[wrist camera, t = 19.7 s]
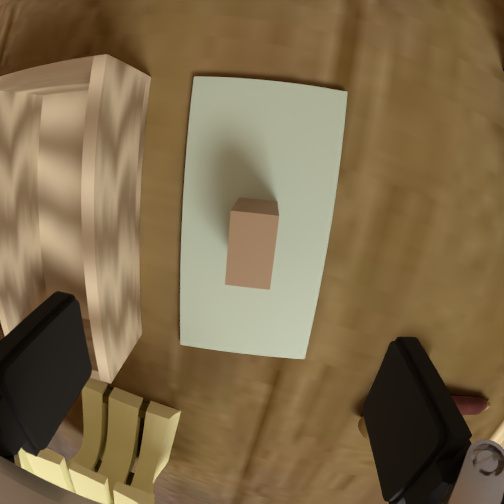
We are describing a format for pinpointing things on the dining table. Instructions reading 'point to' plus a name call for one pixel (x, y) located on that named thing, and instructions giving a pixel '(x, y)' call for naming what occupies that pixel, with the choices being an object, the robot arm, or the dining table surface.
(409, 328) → the dining table surface
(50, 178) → the toolbox
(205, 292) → the lid
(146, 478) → the slatted curved stool
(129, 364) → the dining table surface
